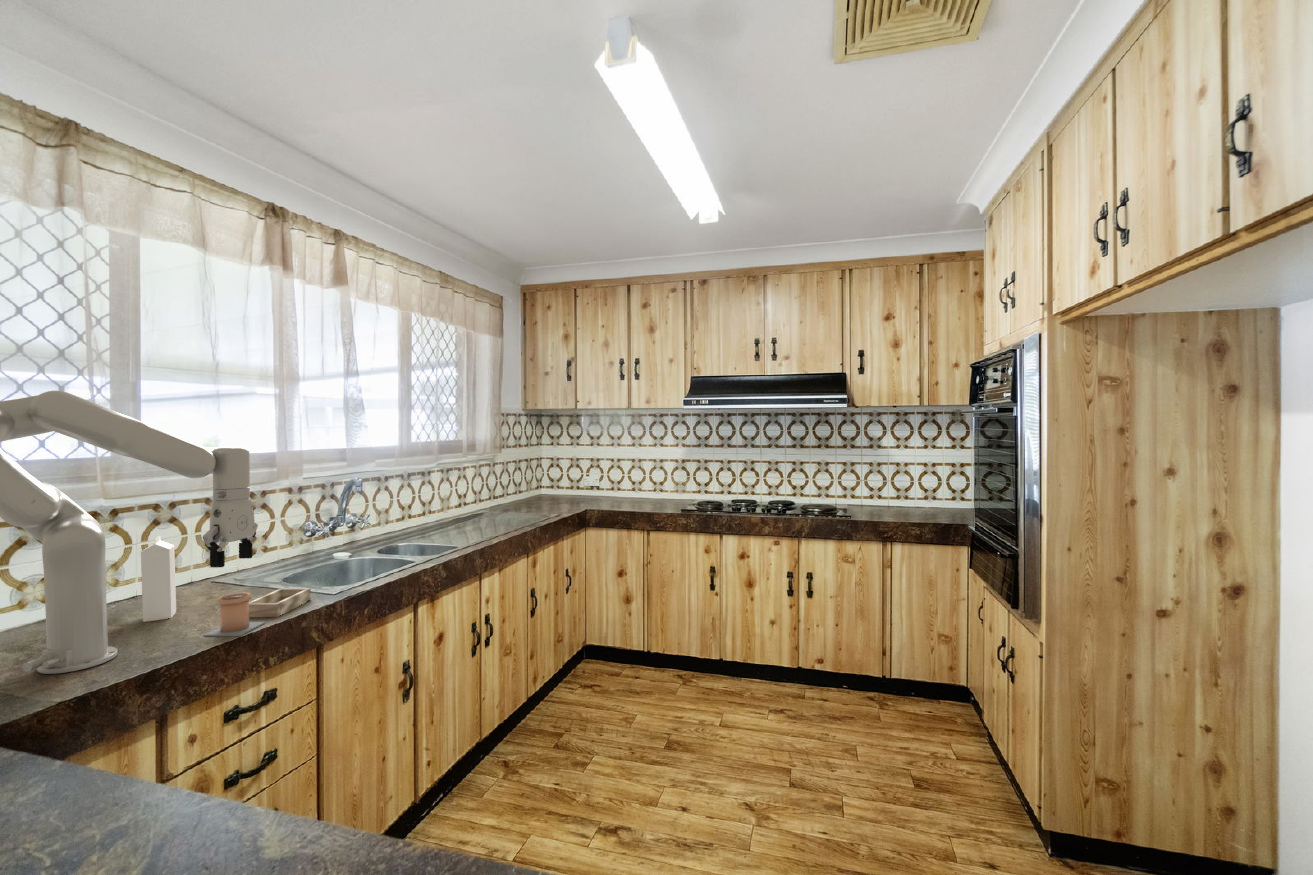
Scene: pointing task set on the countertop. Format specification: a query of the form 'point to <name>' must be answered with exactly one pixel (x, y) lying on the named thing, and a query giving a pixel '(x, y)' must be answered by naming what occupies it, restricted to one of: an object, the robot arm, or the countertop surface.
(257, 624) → the mat
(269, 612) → the wooden tray
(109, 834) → the countertop surface
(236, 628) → the pot
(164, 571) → the milk
